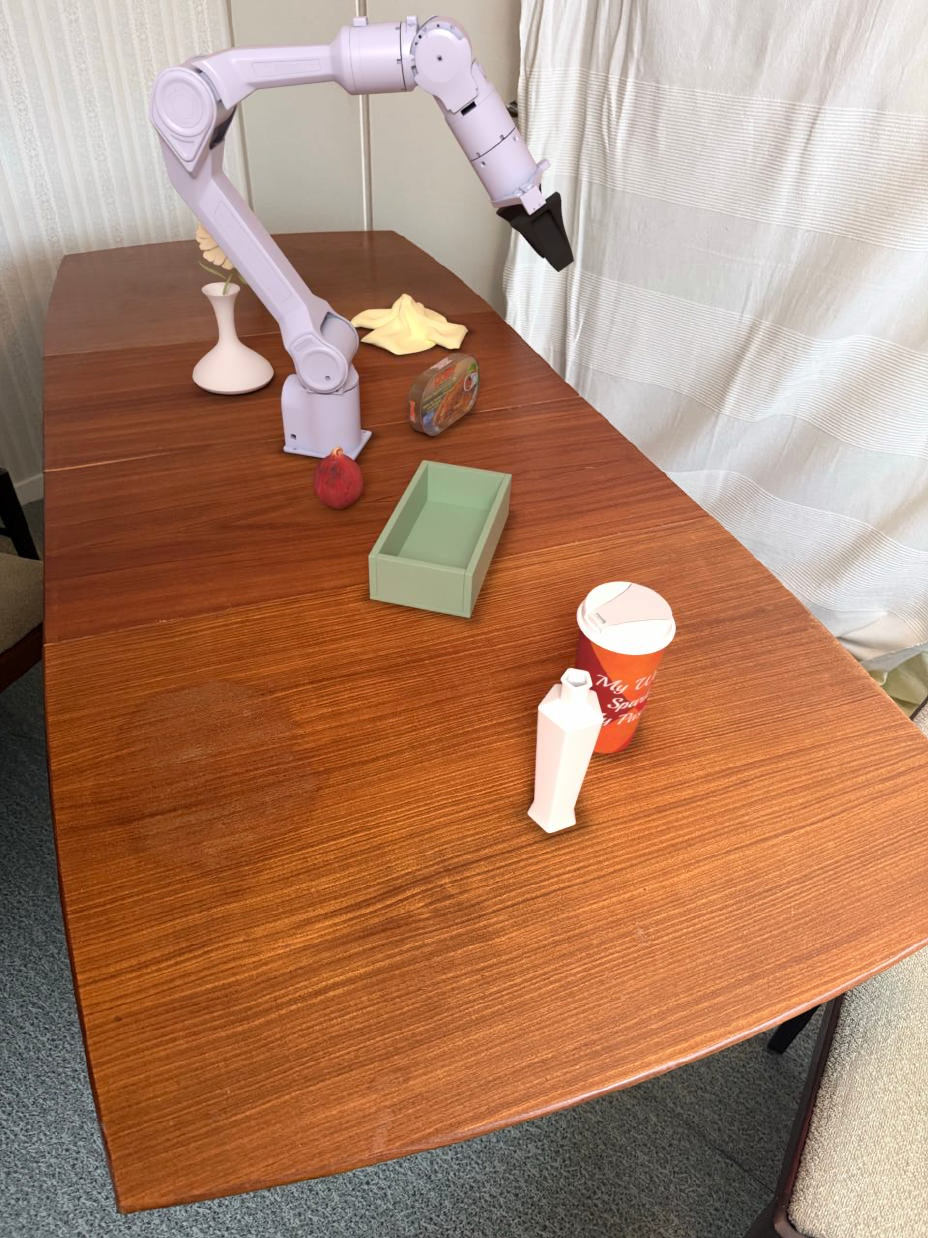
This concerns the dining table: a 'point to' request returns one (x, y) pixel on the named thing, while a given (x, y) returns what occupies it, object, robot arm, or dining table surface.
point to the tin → (443, 393)
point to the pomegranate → (338, 480)
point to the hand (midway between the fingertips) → (557, 259)
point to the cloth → (408, 328)
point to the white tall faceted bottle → (564, 748)
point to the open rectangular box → (440, 539)
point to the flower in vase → (227, 334)
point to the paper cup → (622, 654)
